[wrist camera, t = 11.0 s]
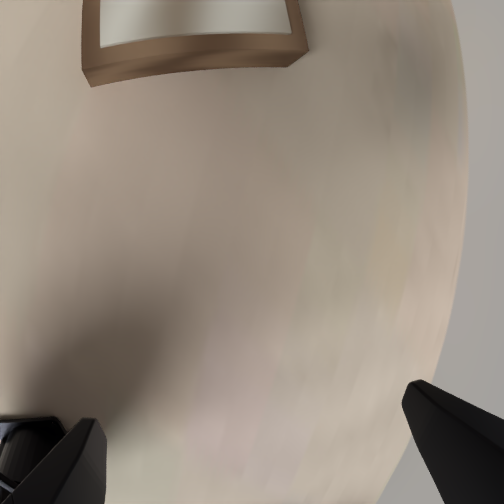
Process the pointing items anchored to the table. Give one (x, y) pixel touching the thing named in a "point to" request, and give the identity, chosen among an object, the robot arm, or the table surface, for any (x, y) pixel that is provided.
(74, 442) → the robot arm
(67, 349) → the table surface
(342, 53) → the table surface
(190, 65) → the square tray
